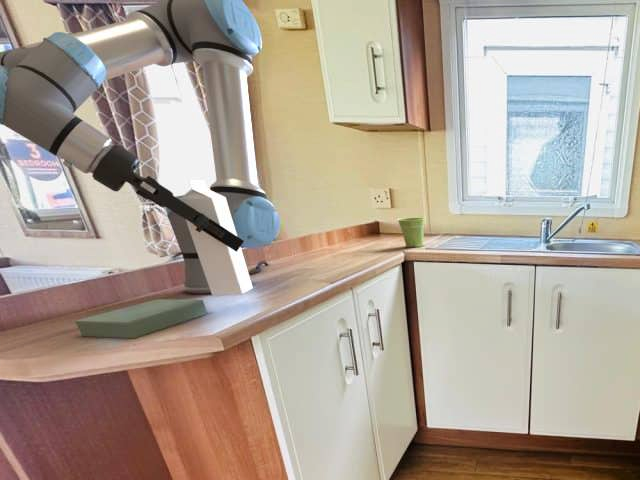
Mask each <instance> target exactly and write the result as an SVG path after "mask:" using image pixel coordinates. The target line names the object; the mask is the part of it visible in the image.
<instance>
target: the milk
mask: <svg viewBox="0 0 640 480" xmlns="http://www.w3.org/2000/svg"><path fill="white" fill-rule="evenodd" d="M188 181H189V186H190V188H191V189H190V190H188V191H187V192H186V193H184V194H183V196H182V195H181V196H182V197H181V198H180V199H179V200H181V201H182V202H184V203H186V204H187V205H189V206H190V207H192V208H193V209H195V210H196V211H198V212H200V213H203V214H204V215H205V216H207V217H208V219H211V220H213V221H214V222H216V223H217V224H219V225H220V226H222V227H223V228H225V229H226V230H228V231H230V232H231V233H233V234H234V235H236V236H237V234H236V230H235V227H234V224H233V221H232V217H231V214H230V211H229V207H228V204H227V201H226V198H225V197H224V196H222V195H220V194H218V193H215V192H213V191H211V190H210V188H208V186H207V183H206V181H205V180H202V179H201V180H200V179H199V180H197V179H196V180H195V179H194V180H193V179H192V180H191V179H189V180H188ZM186 222H187V225H188V228H189V231H190V233H191V236H192V239H193V242H194V245H195V248H196V251H197V253H198V256H199V259H200V262H201V265H202V268H203V271H204V273H205V276H206V279H207V282H208V285H209V288H210V291H211V293H210V294H211V296H212V297H224V296H239V295H244V294H246V293H247V292H249V291H251V290H253V289H254V287H253V282H252V279H251V277H250V276H251V275H249V273H248V272H249V270H248V267H247V263H246V261H245V257H244V254H243V250H242V248H241V247H240V248H239V249H238V251H237V252H236V251H234V250H233V249H231V248H230V247H228V246H226V245H225V244H223V243H222V242H220V241H218V240H217V239H215V238H214V237H212V236H210V235H209V234H207V233H206V232H204V231H202V230H201V232H198V231H196V230H195V229H196V228H197V227H196V226H194V224H193V223H191V222H189V221H188V220H186ZM250 279H251V280H250ZM251 282H252V283H251Z"/></svg>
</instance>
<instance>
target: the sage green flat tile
mask: <svg viewBox="0 0 640 480" xmlns="http://www.w3.org/2000/svg"><path fill="white" fill-rule="evenodd" d="M205 315H208V310H207V308H206V305H205V302H204V300H203V299H171V298H170V299H168V298H167V299H164V298H161V299H160V298H157V299H153V300H149V301H145V302H142V303H137V304H134V305H133V304H132V305H130V306H126V307H123V308H118V309H115V310H111V311H107V312H102V313H100V314H99V313H98V314H96V315H92V316H88V317H84V318H81V319H77V320H74V322H75V324H76V326H77V328H78V330H79V332H80V334H81V336H82V337H92V338H93V337H94V338H116V339H117V338H118V339H119V338H120V339H136V338H139V337H142V336H145V335H148V334H151V333H154V332H157V331H160V330H163V329H167V328H170V327H173V326H175V325H178V324H181V323H185V322H187V321H190V320H194V319H196V318H199V317H202V316H205Z"/></svg>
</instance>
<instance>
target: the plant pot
mask: <svg viewBox="0 0 640 480" xmlns="http://www.w3.org/2000/svg"><path fill="white" fill-rule="evenodd" d="M425 220H427V219H426V217H405V218H404V217H403V218H397V219H396V221H397V222H398V225H399V227H400V231H401V233H402V236H403V239H404V243H405V246H406V247H407V248H413V247H414V248H419V247H420V248H421V247H423V246H424V231H425V229H424V227H425Z"/></svg>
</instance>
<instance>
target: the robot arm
mask: <svg viewBox="0 0 640 480" xmlns="http://www.w3.org/2000/svg"><path fill="white" fill-rule="evenodd" d="M262 46H263V39H262V34H261V31H260V27H259V25H258V23H257V20H256V19H255V17H254V15H253V14H252V13H251V10H250V9H249V7H248V6H247V5H246V4H245V2H244V1H243V0H159V1H157V2H155V3H152V4H151V5H149V6H145V7H143V8H141V9H138V10H134V11H131V12H128V14H127V15H126V17H125V20H122V21H118V22H114V23H110V24H106V25H102V26H97V27H94V28H91V29H86V30H82V31H78V32H74V33H71V34H69V33H67V32H63V31H56V32H55V31H54V32H53V33H52V34H50V35H49V36H47V37H44V38H42V41H39V42H34V43H31V44H26V45H22V46H19V47H16V48H11V49H8V50H3V51H0V125H1V126H5V128H8V129H9V130H11V131H13V132H14V133H16V134H18V135H20V136H22V137H24V139H27V140H28V141H30V142H32V143H33V144H35V145H37V146H38V147H40V148H41V149H43V150H45V151H47V152H48V153H50V154H52V155H53V156H54V157H57V158H59V159H60V160H64V161H63V162H62V164H63V165H64V167H66V168H71V167H72V166H73V167H74V168H75V169H77V170H78V171H80V172H82V173H83V174H92V176H91V177H92V178H93V180H94V181H96V182H98V183H99V184H101V185H102V186H103V187H106V188H107V189H110V190H111V191H113V192H119V191H120V190H121V189H122V188H123V187H124V185H125V184H126V183H128V184H129V185H131V186H132V187H134V188H136V189H137V190H136V191H135V194H137V195H139V196H140V197H141V198H143V199H145V200H148V201H151V202H152V203H154V204H155V205H156V206H158V207H161V208H165V212H166V217H167V219H168V222H169V223H170V227H171V229H172V232H173V234H174V237H175V240H176V243H177V245H178V247H179V251H180V253H181V256H182V259H183V261H184V280H185V281H184V289H185V291H186V293H187V294H195V295H196V294H197V295H200V294H201V295H202V294H204V295H205V294H212V293H211V291H210V288H209V285H208V282H207V279H206V276H205V273H204V271H203V268H202V265H201V262H200V259H199V256H198V253H197V251H196V248H195V245H194V242H193V239H192V236H191V233H190V231H189V228H188V225H187V222H186V220H188V221H189V222H191V223H193V224H194V226H196V227H197V228H196V229H195V230H196V231H198V232H201V230H202V231H204V232H206V233H207V234H209V235H210V236H212V237H214V238H215V239H217V240H218V241H220V242H222V243H223V244H225V245H226V246H228V247H230V248H231V249H233V250H234V251H236V252H237V251H238V249H239V248H240V247H241V249H257V248H264V247H268V246H270V245H272V244H273V242H274V241H275V240H276V239H277V237H278V235H279V232H280V217H279V213H278V212H277V210H276V209H275V205H274V204H273V203H272V202H271V201H269V200H268V199H267V194H266V193H267V192H266V191H264V190H263V189H262V188H261V187H260V186H259V182H258V181H259V180H258V172H257V171H258V170H257V163H256V154H255V143H254V134H253V125H252V115H251V107H250V97H249V88H248V87H249V86H248V77H250V76H251V75H252V74H253V73H254V66H253V56H256V55H257V54H259V52H261V50H262ZM193 62H194V63H197V64H198V65H199V66H200V67H201V69H202V77H203V84H204V93H205V100H206V107H207V116H208V124H209V125H208V126H209V130H210V131H209V132H210V139H211V146H212V156H213V163H214V172H215V179H216V180H215V181H214V182H213V183H212V184H211V185H210V186H209V190H211V191H213V192H215V193H218V194H220V195H222V196H224V197H225V198H226V201H227V204H228V207H229V211H230V214H231V217H232V221H233V224H234V227H235V230H236V234H237V236H236V235H234V234H233V233H231V232H230V231H228V230H226V229H225V228H223V227H222V226H220V225H219V224H217V223H216V222H214V221H213V220H211V219H208V217H207V216H205V215H204V214H203V213H200V212H198V211H196V210H195V209H193V208H192V207H190V206H189V205H187V204H186V203H184V202H182V201H181V200H179V199H180V198H181V197H182V196H183V195H184V194H183V195H177V196H174V193H173V192H172V191H171V190H170V189H168V188H166V187H164V186H163V185H161V184H160V182H159V181H157V180H156V179H155V178H153V177H152V176H150V175H148V176H147V177H144V176H141V175H140V174H138V173H137V172H135V171H136V169H138V167H139V165H140V163H141V159H140V157H139V156H137V155H136V154H134V153H132V152H131V151H129V150H128V149H127V148H125V147H123V146H122V145H120V144H113V140H112V138H110V137H109V136H107V135H106V134H105V133H103V132H101V130H99V129H97V128H95V127H94V126H93V125H91V124H89V123H88V122H87V121H85V120H83V119H82V118H80V117H78V116H77V115H76V114H74V113H76V111H77V110H78V109H79V108H80V107H81V106H82V105H83V104H84V103H85V102H86V101H87V100H88V99H89V98H90V97H91V96H92V95H93V94H94V93H95V92H96V91H97V90H100V87H101V85H102V83H103V82H105V81H108V80H111V79H114V78H117V77H120V76H122V75H125V74H128V73H132V72H134V71H137V70H140V69H143V68H146V67H149V66H151V65H156V66H160V67H168V66H170V65H173V64H180V63H193ZM262 265H265V267H267V266H270V265H269V263H268V262H267V261H265V260H261V261H260V262H258V264H257V265H256V266H255V269H253V270H248V273H249V276H251V275H254V274H257V273H260V272H262V268H261V267H262ZM250 280H251V283H252V284H253V281H252V279H251V278H250Z"/></svg>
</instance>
